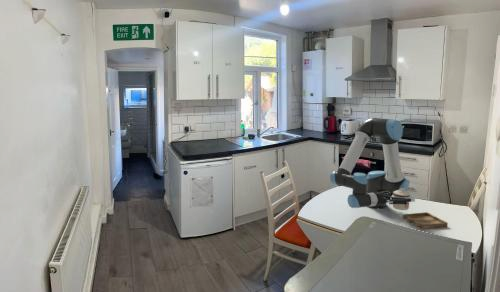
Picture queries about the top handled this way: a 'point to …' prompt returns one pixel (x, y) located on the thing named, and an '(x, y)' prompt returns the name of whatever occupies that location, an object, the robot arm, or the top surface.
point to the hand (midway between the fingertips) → (408, 195)
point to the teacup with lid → (401, 194)
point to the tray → (425, 220)
